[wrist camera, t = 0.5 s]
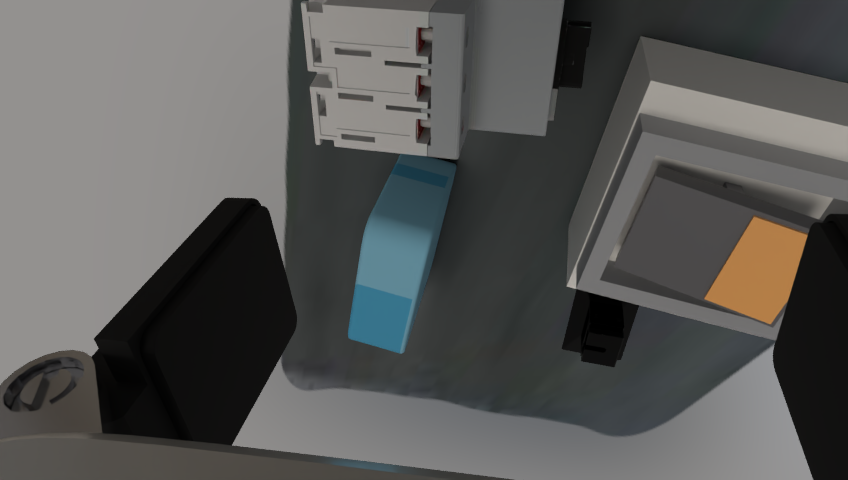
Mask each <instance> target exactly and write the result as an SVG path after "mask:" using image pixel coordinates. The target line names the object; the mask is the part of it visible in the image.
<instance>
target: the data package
mask: <svg viewBox="0 0 848 480" xmlns="http://www.w3.org/2000/svg"><path fill="white" fill-rule="evenodd" d="M455 172H456V164H454V163H451V162H447V161H443V160H440V159H436V158H432V157H428V156H419V155H410V154H400V156H399V158H398V160H397V162H396V164H395V166H394V168H393V170H392V172H391V174H390V176H389V178H388V180H387V182H386V184H385V186H384V188H383V190H382V192H381V194H380V196H379V198H378V200H377V202H376V204H375V206H374V208H373V210H372V212H371V214H370V216H369V219H368V221H367V224H366V228H365V231H364V235H363V239H362V245H361V252H360V258H359V265H358V271H357V278H356V284H355V291H354V297H353V304H352V310H351V316H350V323H349V329H348V337H349V338H350V339H352V340H356V341H359V342H362V343H366V344H369V345H373V346H376V347H380V348H383V349H387V350H390V351H394V352H397V353H404V351H405V349H406V346H407V343H408V340H409V336H410V333H411V330H412V327H413V324H414V321H415V318H416V314H417V311H418V308H419V305H420V302H421V299H422V295H423V292H424V289H425V286H426V283H427V280H428V277H429V273H430V270H431V266H432V263H433V259H434V255H435V251H436V247H437V243H438V239H439V236H440V232H441V228H442V224H443V220H444V216H445V212H446V208H447V204H448V200H449V196H450V192H451V188H452V184H453V180H454V176H455Z"/></svg>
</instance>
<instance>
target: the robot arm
mask: <svg viewBox="0 0 848 480" xmlns="http://www.w3.org/2000/svg"><path fill="white" fill-rule="evenodd" d="M296 324H297V314H296V310H295V306H294V302H293V299H292V295H291V291H290V287H289V284H288V280H287V276H286V272H285V269H284V265H283V261H282V258H281V254H280V250H279V246H278V243H277V239H276V235H275V232H274V228H273V224H272V220H271V217H270V213H269V211H268V209H267V208H266V207H264V206H261V204H260V203H259V201H258V200H256V199H253V198H225V199H224V200H223V201H222V202H221V203H220V204H219V205H218V206H217V207H216V208H215V209H214V210H213V211H212V212H211V213H210V214H209V215H208V216H207V218H206V219H205V220H204V221H203V222H202V223H201V224H200V225H199V226H198V227H197V228H196V229H195V231H194V232H193V233H192V234H191V235H190V236H189V237H188V238H187V239H186V240H185V241H184V242H183V243H182V244H181V246H180V247H179V248H178V249H177V250H176V251H175V252H174V253H173V254H172V255H171V256H170V257H169V258H168V260H167V261H166V262H165V263H164V264H163V265H162V266H161V267H160V268H159V269H158V270H157V271H156V272H155V273H154V275H153V276H152V277H151V278H150V279H149V280H148V281H147V282H146V283H145V284H144V285H143V286H142V288H141V289H140V290H139V291H138V292H137V293H136V294H135V295H134V296H133V297H132V298H131V299H130V301H128V303H127V304H126V305H125V306H124V307H123V308H122V309H121V310H120V311H119V312H118V313H117V314H116V315H115V317H114V318H113V319H112V320H111V321H110V322H109V323H108V324H107V325H106V326H105V327H104V328H103V329H102V330H101V332H100V333H99V334H98V335H97V336H96V337H95V338H94V340H95V342H96V344H97V346H98V348H99V349H98V350H97V351H96V353H95V354H94V355H93V356H92V357H91V356H89V355H88V354H86V353H84V352H81V351H75V350H69V351H58V352H55V353H51V354H47V355H44V356H42V357H40V358H37V359H35V360H33V361H31V362H29V363H27V364H25V365H24V366H23V367H21V368H19V369H18V370H16V371H15V372H14V373H12V374H11V375H10V376H9V377H8V378H7V379H6V380H4V381H3V383H2V384H1V385H0V480H512V479H504V478H496V477H488V476H480V475H472V474H464V473H456V472H448V471H440V470H431V469H424V468H415V467H407V466H399V465H391V464H383V463H375V462H367V461H358V460H349V459H342V458H333V457H325V456H316V455H308V454H299V453H291V452H281V451H273V450H265V449H256V448H248V447H240V446H232V444H233V442H234V440H235V438H236V436H237V435H238V433H239V431H240V429H241V427H242V425H243V424H244V422H245V420H246V418H247V416H248V415H249V413H250V411H251V409H252V408H253V406H254V404H255V402H256V400H257V398H258V397H259V395H260V393H261V391H262V389H263V387H264V386H265V384H266V382H267V380H268V379H269V377H270V375H271V373H272V371H273V370H274V368H275V366H276V364H277V362H278V360H279V359H280V357H281V355H282V353H283V352H284V350H285V348H286V346H287V344H288V343H289V341H290V339H291V337H292V335H293V333H294V331H295V329H296ZM773 363H774V368H775V372H776V374H777V377H778V380H779V383H780V386H781V389H782V391H783V394H784V397H785V400H786V403H787V406H788V409H789V412H790V415H791V417H792V420H793V423H794V426H795V429H796V432H797V434H798V437H799V440H800V443H801V446H802V448H803V451H804V454H805V457H806V460H807V463H808V466H809V468H810V471H811V474H812V477H813V479H814V480H848V214H829V215H827V216H826V218H825V219H824V221H823V222H815V223H813V224H812V226H811V227H810V230H809V232H808V236H807V239H806V242H805V246H804V249H803V252H802V256H801V259H800V262H799V266H798V269H797V272H796V276H795V279H794V282H793V286H792V289H791V292H790V296H789V299H788V302H787V306H786V309H785V312H784V315H783V319H782V322H781V325H780V329H779V332H778V335H777V339H776V342H775V345H774V350H773Z"/></svg>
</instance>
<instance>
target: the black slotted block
mask: <svg viewBox="0 0 848 480" xmlns="http://www.w3.org/2000/svg"><path fill="white" fill-rule="evenodd" d="M638 307H639V305H637V304H633V303H629V302H625V301H621V300H617V299H614V298H610V297H606V296H602V295H598V294H594V293H590V292H587V291H583V290H579V289H577V290H576V294H575V298H574V302H573V306H572V310H571V314H570V318H569V322H568V326H567V330H566V334H565V338H564V342H563V346H562V349H563V350H569V351H574V352H579V353H581V361H583V362H589V363H594V364H600V365H605V366H611V367H615V364H616V361H617V360H621V358H622V355H623V352H624V349H625V346H626V343H627V340H628V337H629V334H630V331H631V328H632V325H633V322H634V319H635V316H636V313H637V310H638Z"/></svg>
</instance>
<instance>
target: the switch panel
mask: <svg viewBox="0 0 848 480" xmlns="http://www.w3.org/2000/svg"><path fill="white" fill-rule="evenodd" d="M658 165H660V166H663V167H666V168H669V169H672V170H674V171H677V172H680V173H683V174H686V175H689V176H692V177H695V178H698V179H701V180H704V181H707V182H710V183H713V184H716V185H719V186H722V187H725V188H728V189H730V190H733V191H736V192H739V193H742V194H745V195H748V196H751V197H754V198H757V199H760V200H763V201H766V202H769V203H772V204H775V205H778V206H781V207H784V208H786V209H789V210H792V211H795V212H798V213H801V214H804V215H807V216H810V217H813V218H816V219H819V220H822V221H824V219H825V218H826V216H827V215H829V214H848V83H844V82H840V81H835V80H831V79H827V78H822V77H818V76H813V75H809V74H805V73H800V72H796V71H792V70H787V69H783V68H778V67H774V66H770V65H765V64H761V63H757V62H752V61H748V60H744V59H739V58H735V57H730V56H726V55H722V54H717V53H713V52H709V51H704V50H700V49H695V48H691V47H687V46H682V45H678V44H674V43H669V42H665V41H661V40H656V39H652V38H647V37H643V36H640V39H639V41H638V44H637V47H636V49H635V52H634V55H633V57H632V60H631V62H630V65H629V68H628V70H627V73H626V76H625V78H624V81H623V83H622V86H621V89H620V91H619V94H618V97H617V99H616V102H615V105H614V107H613V110H612V112H611V115H610V118H609V120H608V123H607V126H606V128H605V131H604V133H603V136H602V139H601V141H600V144H599V147H598V149H597V152H596V155H595V157H594V160H593V162H592V165H591V168H590V170H589V173H588V176H587V178H586V181H585V183H584V186H583V189H582V191H581V194H580V197H579V199H578V202H577V205H576V207H575V210H574V212H573V215H572V218H571V220H570V223H569V233H568V263H567V287H571V288H575V289H579V290H583V291H587V292H590V293H594V294H598V295H602V296H606V297H610V298H614V299H617V300H621V301H625V302H629V303H633V304H637V305H641V306H644V307H648V308H652V309H656V310H660V311H664V312H668V313H671V314H675V315H679V316H683V317H687V318H691V319H695V320H698V321H702V322H706V323H710V324H714V325H718V326H722V327H726V328H729V329H733V330H737V331H741V332H745V333H749V334H753V335H756V336H761V337H765V338H768V339H772V340H776V339H777V335H778V332H779V329H780V325H781V322H782V319H783V315H784V313H783V315H782V316H781V318H780V319H779V320H778V322H777V323H776V324H775V326H774V327H773V328H772V327H770V326H767V325H764V324H762V323H759V322H757V321H754V320H751V319H749V318H746V317H744V316H741V315H738V314H736V313H733V312H731V311H728V310H725V309H723V308H720V307H718V306H715V305H712V304H710V303H707V302H705V301H702V300H699V299H697V298H694V297H692V296H689V295H686V294H684V293H681V292H679V291H676V290H673V289H671V288H668V287H666V286H663V285H660V284H658V283H655V282H653V281H650V280H647V279H645V278H642V277H640V276H637V275H634V274H632V273H629V272H627V271H624V270H621V269H619V268H616V267H614V264H615V261H616V258H617V255H618V252H619V250H620V248H621V246H622V244H623V241H624V239H625V237H626V235H627V233H628V230H629V228H630V226H631V224H632V222H633V220H634V217H635V215H636V213H637V211H638V209H639V206H640V204H641V202H642V200H643V198H644V195H645V193H646V191H647V189H648V187H649V185H650V182H651V180H652V178H653V176H654V174H655V171H656V169H657V167H658Z"/></svg>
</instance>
